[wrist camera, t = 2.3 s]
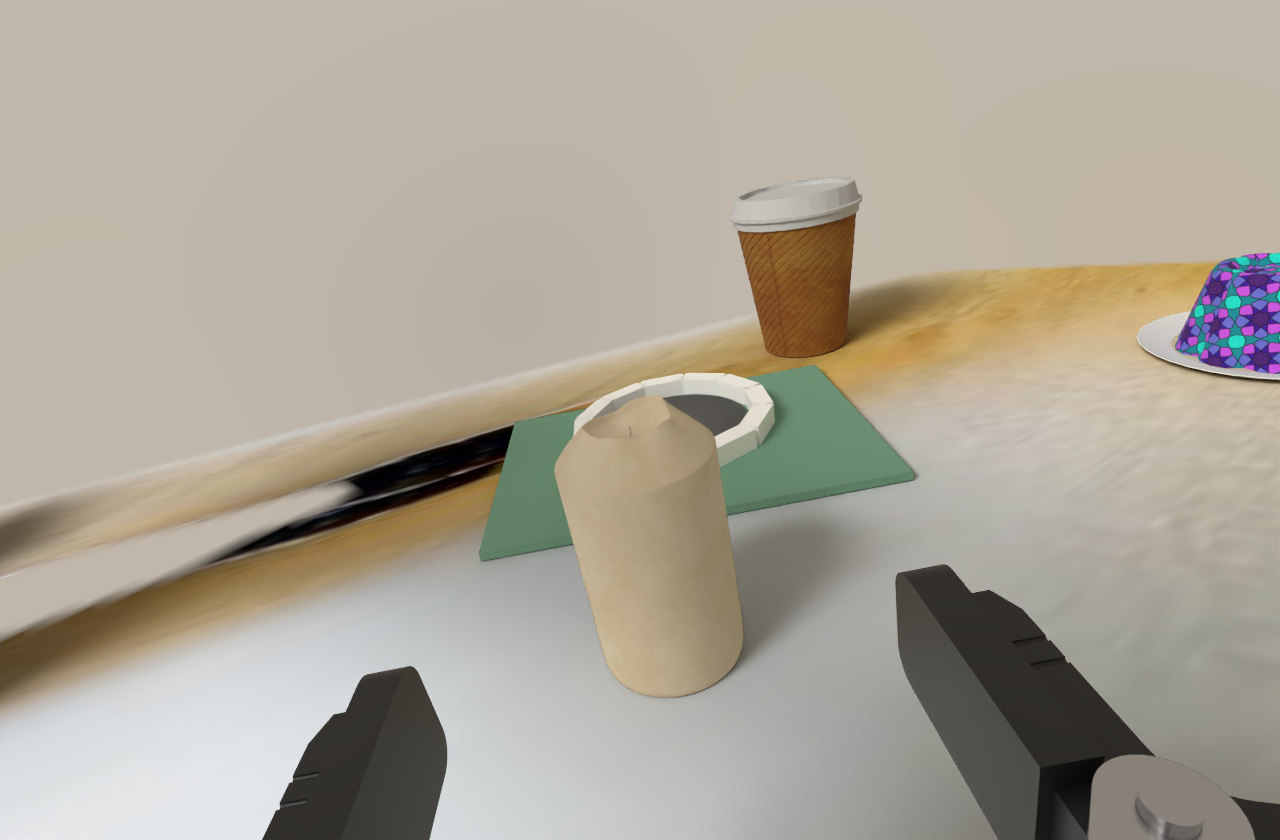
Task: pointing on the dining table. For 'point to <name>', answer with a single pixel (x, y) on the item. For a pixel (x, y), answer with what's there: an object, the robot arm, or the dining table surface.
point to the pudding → (1227, 321)
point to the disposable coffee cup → (800, 261)
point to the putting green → (745, 439)
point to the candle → (654, 546)
